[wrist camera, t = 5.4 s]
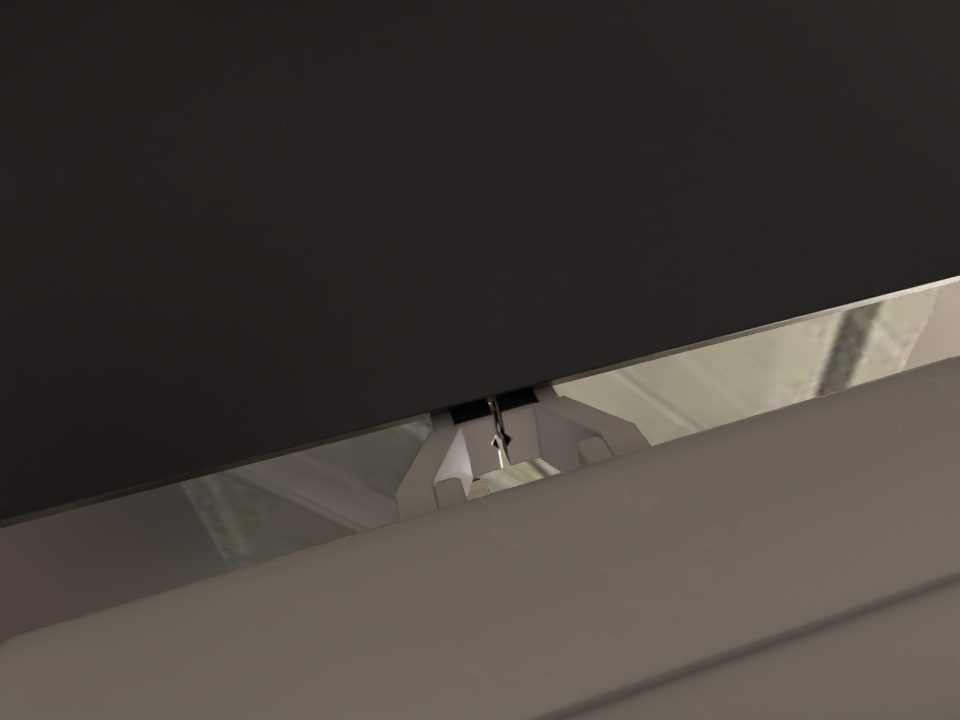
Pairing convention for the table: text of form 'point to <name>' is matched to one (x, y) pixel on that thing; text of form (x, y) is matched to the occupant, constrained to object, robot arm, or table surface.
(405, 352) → the laptop screen
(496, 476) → the table surface
